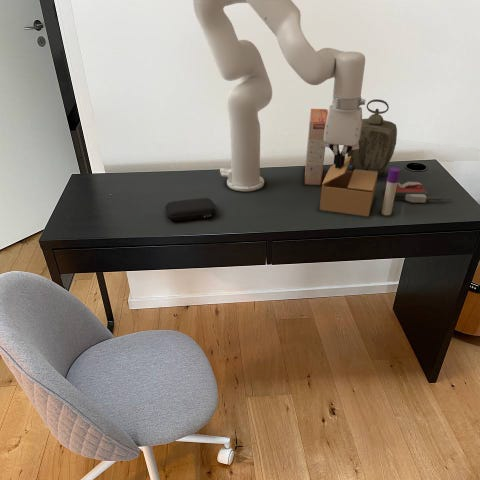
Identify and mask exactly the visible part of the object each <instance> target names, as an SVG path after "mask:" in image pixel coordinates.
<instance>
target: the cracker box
mask: <svg viewBox="0 0 480 480" xmlns="http://www.w3.org/2000/svg"><path fill="white" fill-rule="evenodd" d="M328 111H329V109H326V108H310V113H309V124H308V134H307V145H306V156H305V165H304V166H305V167H304V185H306V186H307V185H310V186H311V185H312V186H322V182H323V181H322V180H323V171H324V162H325V154H326V147H325V146H323V141H324V131H325V125H326V119H327V115H328Z"/></svg>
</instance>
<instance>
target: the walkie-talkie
mask: <svg viewBox="0 0 480 480" xmlns="http://www.w3.org/2000/svg"><path fill="white" fill-rule="evenodd" d="M427 194H428V191H426V187H425V186H424V185H423V184H422V183H421V182H419V181H406V182H404V183H402V184H401V183H400V182H397V187H396V192H395V197H394V201H396V200H399V201H406V202H409V203H422V204H423V203H424V204H425V203H427V202H428V201H442V200H443V201H444V200H446V201H447V200H452V197H451V196H427Z"/></svg>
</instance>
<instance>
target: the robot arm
mask: <svg viewBox="0 0 480 480" xmlns="http://www.w3.org/2000/svg"><path fill="white" fill-rule="evenodd" d="M192 2H193V11H194V14H195V17H196V20H197V22H198V24H199V26H200V28H201V30H202V33H203V35H204V38H205V40H206V43H207V46H208V48H209V50H210V54H211V56H212V58H213V61H214V63H215V67H216V68H217V71H218V73H219V75H220V77H221V78H222V79H223V80H225V81H227V82H233V81H236V80H239V82H240V83H238V84H237V85H235V86H234V87H232V89H231V90H230V91H229V93H228V96H227V99H226V109H227V114H228V119H229V131H230V133H229V134H230V136H229V137H230V168H222V167H221V168H220V169H219V174H220V177H223V178H227V179H226V185H227V187H228V188H229V189H231V190H232V191H233V190H234V191H238V192H254V191H258V190H259V189H262V188H263V187H264V186H265V179H264V178H263V177H262V176H261V124H260V123H261V122H260V121H259V120H260V119H259V112H260V111H261V110H263V109H264V108H266V107H267V106H268V105H269V104H270V102H271V101H272V99H273V86H272V83H271V80H270V78H269V75H268V72H267V69H266V66H265V64H264V60H263V57H262V55H261V52H260V50H259V49H258V48H257V46H256V45H255V44H254V43H253V42H252V41H250V40H248V39H239V38H238V36H237V34H236V30H235V27H234V25H233V23H232V21H231V20H230V18H229V16H228V15H227V14H226V12H225V10H224V8H225V7H229V6H231V5H236V4H248V5H249V6H250V7H251V8H252V10H253V11H254V12H255V13H256V14H257V16H258V17H259V18H260V19H261V20H262V22H263V23H264V24H265V25H266V26H267V28H268V29H269V30H270V31H271V33H273V35H274V36H275V37H276V40H277V43H278V45H279V48H280V50H281V53H282V55H283V58H284V59H285V61H286V62H287V64H288V65H289V66H290V67H291V68H292V70H293V71H294V72H295V73H296V74H297V76H298V77H299V78H300V79H301V80H302V81H304V83H306V84H308V85H311V86H319V85H321V84H323V83H325V82H326V81H327V80H330V79H333V78H334V80H333V82H334V83H333V89H332V100H331V101H332V102H331V104H330V105H329V107H328V115H327V119H326V125H325V131H324V141H323V146H325V148H328V149H330V151H331V152H332V154H333V155H334V156H333V157H334V158H333V165H334V164H335V168H339V169H341V166H342V165H344V161H345V158H346V155H347V153H348V152H349V151H351V150H356V149H359V147H360V143H359V140H360V136H361V128H362V119H363V107H362V106H365V105H366V99H364V98H362V89H363V83H364V82H363V81H364V74H365V65H366V56H365V54H363V53H362V52H359V51H344V50H339V49H336V48H333V47H323V48H321V49H319V50H315V48H314V46H312V45H311V44H310V42H309V41H308V40H307V38H306V37H305V35H304V32H303V30H302V26H301V16H302V15H301V11H300V9H299V7H298V6H297V5H296V4H295V3H294V1H293V0H193V1H192ZM340 146H343V147H342V150H341V151H340Z"/></svg>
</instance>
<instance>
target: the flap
mask: <svg viewBox="0 0 480 480" xmlns="http://www.w3.org/2000/svg"><path fill="white" fill-rule="evenodd" d="M350 159H351V156H349V157H347V156H346V157H345V161H344V165H342V166H341V169H339V168H335V164H334V163H333V164H332V165H330V166H329V167H328V170H327V172H326V174H325V177H324V179H323V181H322V182H321V185H323V184H325V183H327V182H329V181H331V180H333V179H335V178H337V177H339V176H341V175H343V174H345V172H346V171H347V169H348V167H349V165H350V164H349V162H350Z"/></svg>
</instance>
